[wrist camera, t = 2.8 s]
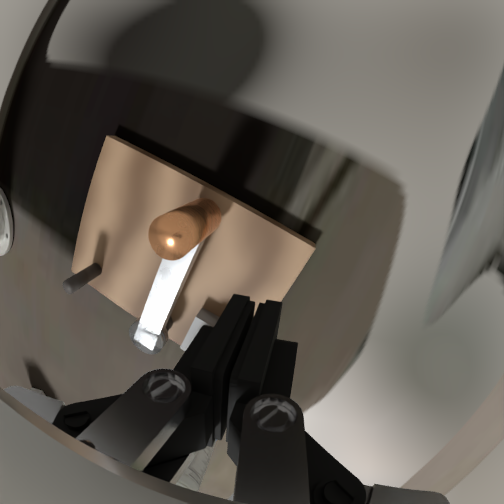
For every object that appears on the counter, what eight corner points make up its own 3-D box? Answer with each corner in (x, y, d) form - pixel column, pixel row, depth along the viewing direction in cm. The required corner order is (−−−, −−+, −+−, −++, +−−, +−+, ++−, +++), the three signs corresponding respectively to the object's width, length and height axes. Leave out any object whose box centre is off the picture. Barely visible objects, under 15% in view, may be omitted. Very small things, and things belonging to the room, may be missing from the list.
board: (78, 266, 35) (43, 287, 28) (114, 135, 28) (71, 136, 21) (233, 365, 34) (217, 405, 28) (315, 243, 28) (316, 271, 21)
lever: (166, 346, 32) (137, 385, 25) (137, 328, 32) (104, 363, 25) (231, 211, 25) (203, 232, 19) (192, 189, 25) (152, 203, 19)
